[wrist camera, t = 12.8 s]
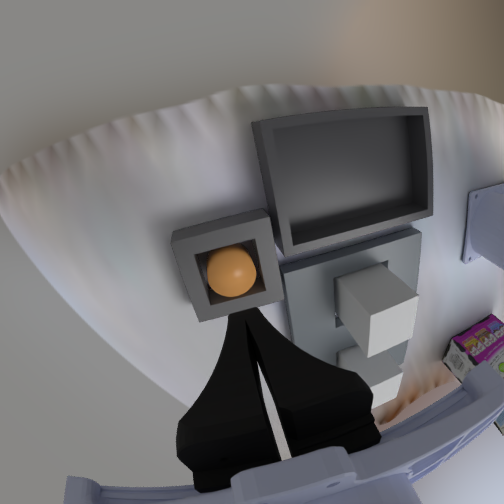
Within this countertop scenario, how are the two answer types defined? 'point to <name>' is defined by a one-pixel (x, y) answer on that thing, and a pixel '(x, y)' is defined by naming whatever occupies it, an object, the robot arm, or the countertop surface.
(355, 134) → the tote
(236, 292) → the orange button
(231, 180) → the countertop surface
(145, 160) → the countertop surface
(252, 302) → the button housing
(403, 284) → the pale grey block
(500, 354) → the candy bar box
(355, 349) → the seated block
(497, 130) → the countertop surface
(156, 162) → the countertop surface
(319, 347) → the grey slotted board
